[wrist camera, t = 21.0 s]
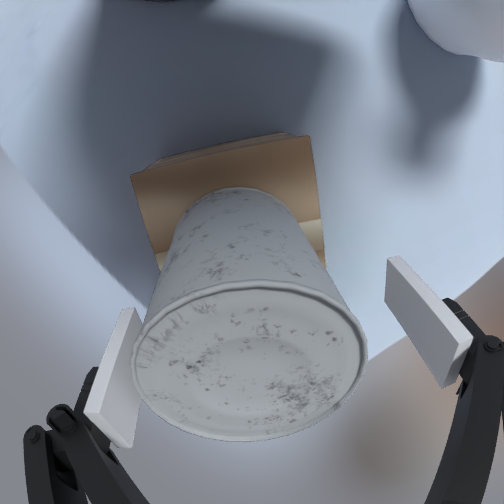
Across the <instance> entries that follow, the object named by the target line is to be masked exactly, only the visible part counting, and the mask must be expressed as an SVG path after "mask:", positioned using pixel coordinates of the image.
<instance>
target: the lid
mask: <svg viewBox="0 0 504 504" xmlns="http://www.w3.org/2000/svg"><path fill="white" fill-rule="evenodd" d="M130 178H131V182H132V185H133V189H134V192H135V195H136V199H137V202H138V205H139V208H140V212H141V215H142V218H143V221H144V224H145V227H146V230H147V233H148V236H149V239H150V242H151V245H152V248H153V251H154V255H155V258H156V261H157V264H158V266H159V269H160V272H161V270H162V267H163V264H164V261H165V259H166V256H167V253H168V251H169V248H170V245H171V243H172V240H173V235H174V232H175V229H176V226H177V224H178V222H179V220H180V219H181V217H182V216H183V214H184V212H185V211H186V210H187V209H188V208H189V207H190V206H191V205H192V204H193V203H194V202H195V201H197V200H198V199H200V198H202V197H203V196H205V195H207V194H209V193H211V192H214V191H217V190H220V189H223V188H232V187H246V188H253V189H258V190H261V191H263V192H266V193H268V194H271V195H272V196H274V197H275V198H277V199H278V200H280V201H281V202H283V203H284V204H285V205H286V206H287V207H288V209H289V210H290V211H291V212H292V213H293V214H294V216H295V218H296V220H297V222H298V224H299V226H300V228H301V230H302V231H303V233H304V234H305V236H306V238H307V239H308V241H309V243H310V244H311V246H312V247H313V249H314V251H315V252H316V254H317V256H318V257H319V259H320V261H321V262H322V264H323V266H324V267H325V269H326V265H325V254H324V240H323V230H322V220H321V215H320V206H319V198H318V190H317V182H316V175H315V167H314V160H313V154H312V147H311V141H310V136H307V135H306V136H299V137H293V138H287V139H281V140H275V141H269V142H264V143H258V144H253V145H248V146H243V147H238V148H233V149H229V150H224V151H219V152H215V153H211V154H206V155H202V156H198V157H194V158H190V159H186V160H182V161H178V162H174V163H170V164H166V165H163V166H159V167H155V168H152V169H148V170H145V171H141V172H138V173H135V174H132V175H131V176H130Z"/></svg>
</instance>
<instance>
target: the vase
mask: <svg viewBox="0 0 504 504" xmlns="http://www.w3.org/2000/svg"><path fill="white" fill-rule="evenodd" d="M407 1H408V5H409V7H410V9H411V11H412V13H413V16H414V18H415V20H416V22H417V23H418V25H419V26H420V27H421V28H422V30H423V31H424V32H425V33H426V35H427V36H428V37H429V39H431V40H432V41H433V42H435V43H436V44H437V45H438V46H440V47H441V48H442V49H443V50H445V51H448V52H451V53H454V54H457V55H471V56H476V57H479V58H483V59H487V60H491V61H496V62H504V0H407Z"/></svg>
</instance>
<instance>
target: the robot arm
mask: <svg viewBox="0 0 504 504" xmlns="http://www.w3.org/2000/svg"><path fill="white" fill-rule="evenodd" d="M146 1H158V2H160V1H175V0H146ZM384 301H385V303H386V304H387V306H388V307H389V309H390V310H391V311H392V313H393V314H394V316H395V317H396V319H397V320H398V322H399V323H400V325H401V326H402V328H403V329H404V331H405V332H406V334H407V335H408V337H409V338H410V340H411V341H412V343H413V344H414V346H415V347H416V349H417V350H418V352H419V354H420V355H421V357H422V358H423V360H424V361H425V363H426V365H427V366H428V368H429V369H430V371H431V373H432V374H433V376H434V377H435V379H436V381H437V382H438V384H439V386H440V387H441V389H442V388H444V387H446V386H449V385H451V384H453V383H455V382H456V379H457V377H458V375H459V374H460V376H461V377H462V378H463V380H462V382H461V385H460V387H459V389H458V391H457V393H456V394H457V395H458V394H459V396H458V401H457V405H456V410H455V414H454V418H453V422H452V426H451V429H450V433H449V436H448V440H447V443H446V447H445V450H444V453H443V456H442V459H441V462H440V465H439V468H438V471H437V473H436V476H435V479H434V481H433V484H432V487H431V489H430V492H429V494H428V496H427V499H426V501H425V503H424V504H481V502H482V499H483V496H484V492H485V489H486V485H487V482H488V478H489V474H490V470H491V466H492V462H493V457H494V452H495V447H496V442H497V436H498V430H499V423H500V416H501V410H502V419H503V430H504V342H502V341H501V340H500V339H499V338H497V337H495V336H492V335H487V336H486V335H485V334H484V333H483V331H482V330H481V329H480V328H479V327H478V326H477V324H476V323H475V322H474V321H473V320H472V319H471V318H470V317H468V314H467V313H466V312H465V311H463V309H462V308H461V307H460V305H459V304H458V303H457V302H455V301H453V300H451V299H449V298H445V299H443V300H441V299H440V298H439V296H438V295H437V294H436V293H435V292H434V291H433V290H432V289H431V288H430V287H429V286H428V284H427V283H426V282H425V281H424V280H423V279H422V278H421V277H420V276H419V275H418V274H417V273H416V272H415V271H414V270H413V269H412V268H411V267H410V266H409V265H408V263H407V262H406V261H405V260H404V259H403V258H402V257H401V256H395V257H391V258H387V271H386V286H385V299H384ZM142 326H143V324H142V322H141V320H140V318H139V316H138V313H137V311H136V309H135V308H128V309H122V311H121V313H120V316H119V318H118V321H117V323H116V325H115V328H114V330H113V332H112V335H111V337H110V340H109V343H108V345H107V348H106V350H105V353H104V355H103V358H102V361H101V363H100V366H99V367H93V368H92V369H91V370H90V372H89V373H88V374H87V376H86V378H85V381H84V385H83V386H82V389H81V392H80V394H79V397H78V400H77V403H76V405H75V408H74V411H73V410H72V409H71V408H70V407H69V406H68V405H66V404H59V405H56V406H55V407H53V408H52V409H51V410H50V412H49V413H48V415H47V419H46V420H47V424H48V425H49V426H50V427H51V428H52V429H53V430H50V431H45V430H44V429H43V428H42V427H41V426H39V425H34V426H32V427H30V428H29V429H28V430H27V431H26V433H25V434H24V439H23V442H24V463H25V475H26V485H27V493H28V500H29V504H88V501H87V498H86V495H87V496H88V498H89V500H90V502H91V503H92V504H150V503H149V502H148V501H147V500H146V499H145V497H144V496H143V494H142V493H141V492H140V491H139V489H138V488H137V486H136V485H135V484H134V482H133V481H132V480H131V478H130V477H129V475H128V474H127V473H126V471H125V470H124V468H123V467H122V465H121V464H120V462H119V460H118V459H117V457H116V456H115V454H114V453H113V451H112V450H111V449H110V448H109V447H110V442H112V443H113V444H114V445H115V446H116V447H117V448H132V447H133V441H134V436H135V430H136V425H137V419H138V414H139V409H140V404H141V397H140V395H139V393H138V391H137V389H136V387H135V385H134V383H133V379H132V373H131V366H130V361H131V356H132V351H133V346H134V343H135V340H136V339H137V337H138V335H139V334H140V332H141V329H142ZM85 493H86V494H85Z"/></svg>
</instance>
